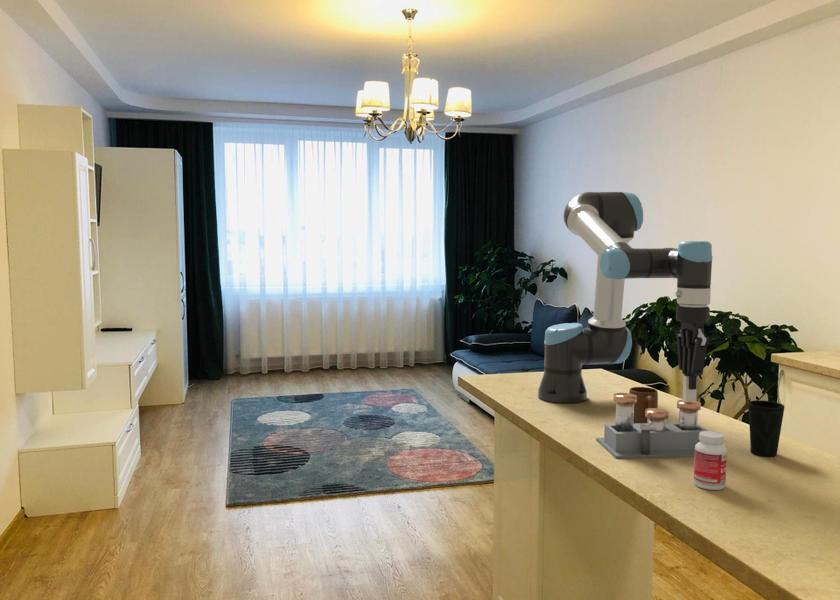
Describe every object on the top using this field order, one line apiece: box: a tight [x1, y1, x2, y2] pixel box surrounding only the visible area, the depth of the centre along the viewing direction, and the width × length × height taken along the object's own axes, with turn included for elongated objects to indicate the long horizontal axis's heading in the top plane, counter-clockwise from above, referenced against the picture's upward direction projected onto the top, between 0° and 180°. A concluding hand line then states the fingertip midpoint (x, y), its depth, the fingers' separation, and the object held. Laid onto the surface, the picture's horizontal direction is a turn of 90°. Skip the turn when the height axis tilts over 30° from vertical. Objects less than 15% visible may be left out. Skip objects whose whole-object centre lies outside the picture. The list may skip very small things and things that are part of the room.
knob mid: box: [645, 408, 670, 431], centre depth 168 cm, size 5×5×8 cm
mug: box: [628, 386, 659, 424], centre depth 187 cm, size 12×8×9 cm, turn 179°
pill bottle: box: [693, 430, 728, 491], centre depth 143 cm, size 6×6×11 cm
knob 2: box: [676, 399, 702, 430], centre depth 169 cm, size 5×5×8 cm
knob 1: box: [613, 392, 637, 432], centre depth 167 cm, size 5×5×8 cm
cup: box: [747, 399, 785, 458], centre depth 164 cm, size 8×8×12 cm
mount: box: [595, 422, 709, 459], centre depth 168 cm, size 14×25×5 cm, turn 94°
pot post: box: [640, 424, 652, 455], centre depth 162 cm, size 3×3×7 cm
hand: (689, 401), depth 168 cm, fingers closed
